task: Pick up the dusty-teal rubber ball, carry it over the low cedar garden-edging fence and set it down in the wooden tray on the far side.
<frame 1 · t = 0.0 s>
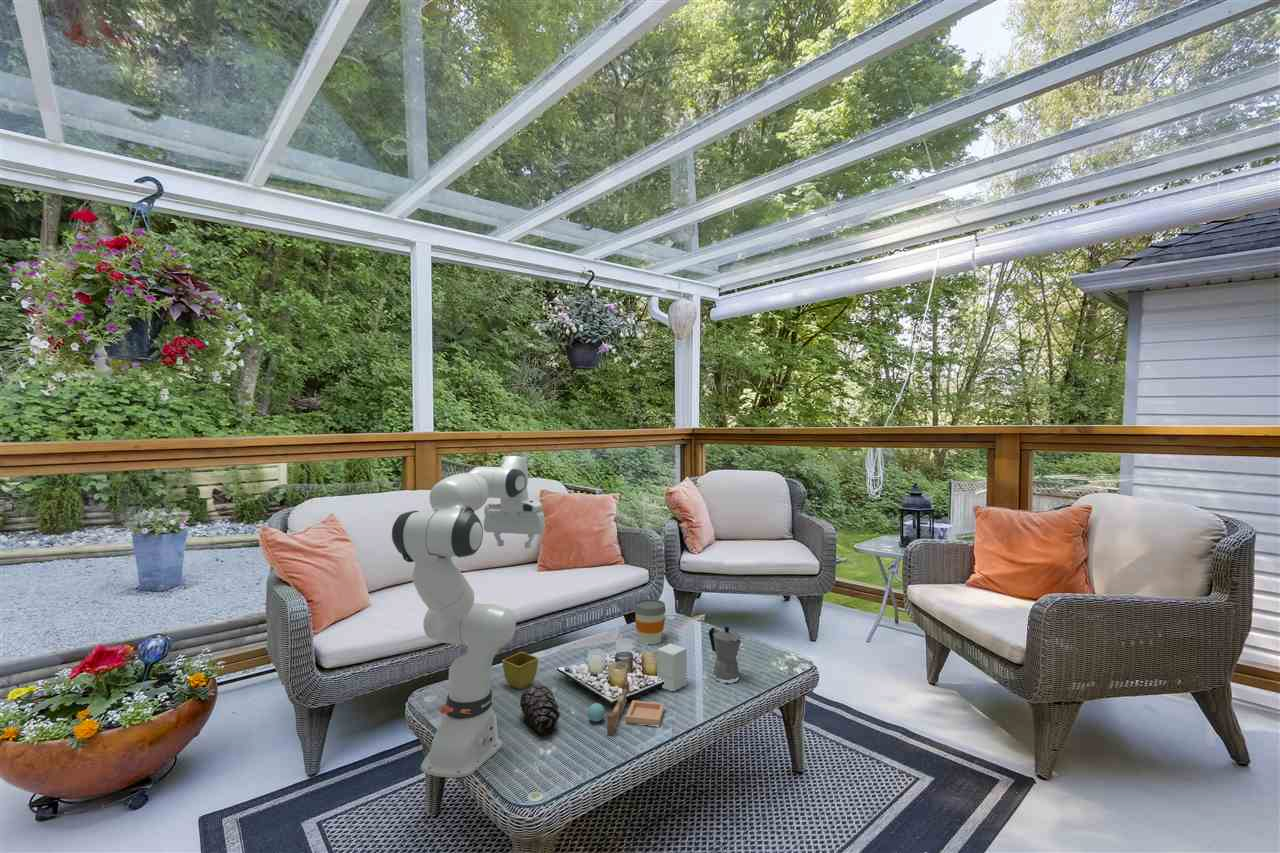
hand: (514, 546, 193), 48 cm above the table, fingers open, 8 cm apart
flower pot: (520, 685, 199), on the table
fence: (618, 715, 179), on the table
pine cone: (542, 725, 174), on the table
supplement box: (671, 686, 199), on the table
ball: (596, 720, 176), on the table
wooden tray: (645, 717, 179), on the table
reusable coffee cup: (649, 641, 238), on the table
coffeepot: (724, 677, 206), on the table
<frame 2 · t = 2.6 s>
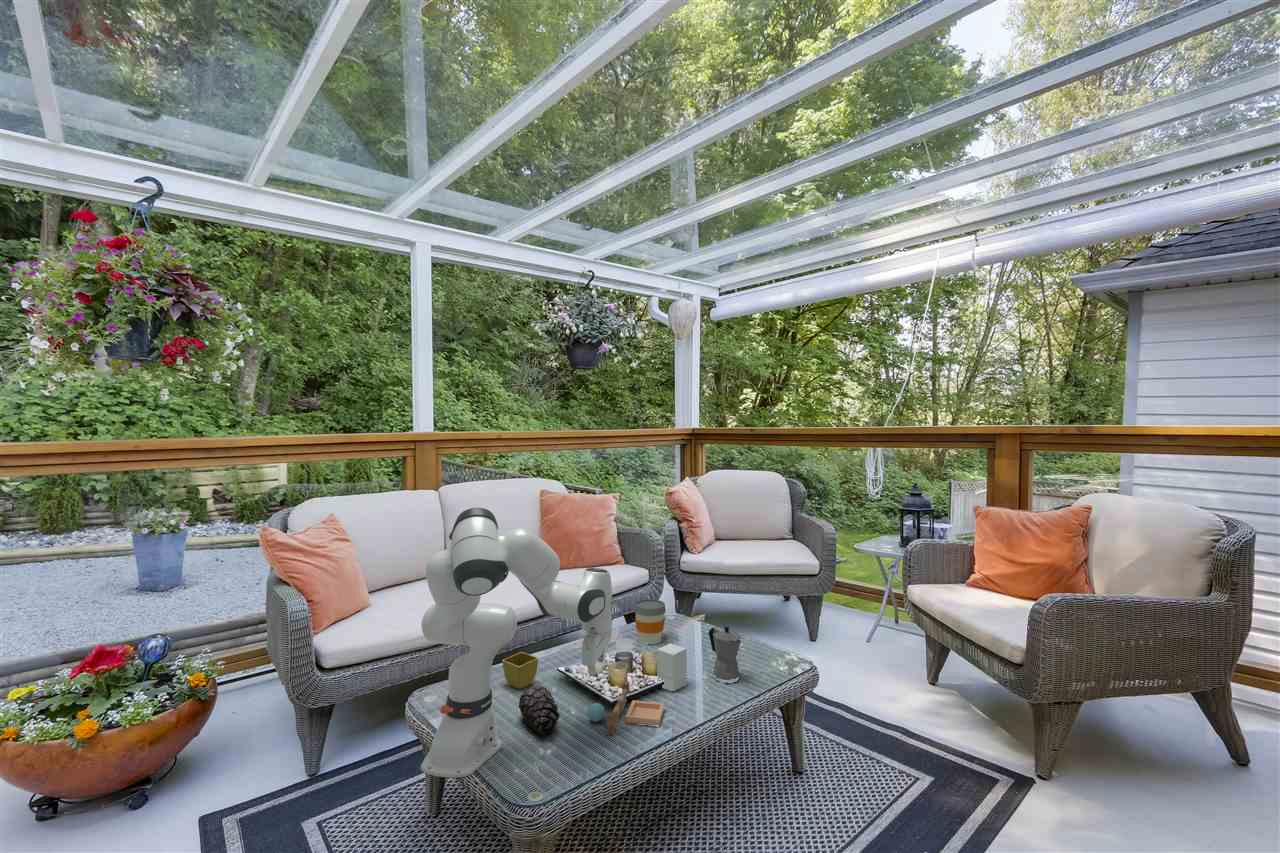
hand: (596, 668, 176), 16 cm above the table, fingers open, 8 cm apart
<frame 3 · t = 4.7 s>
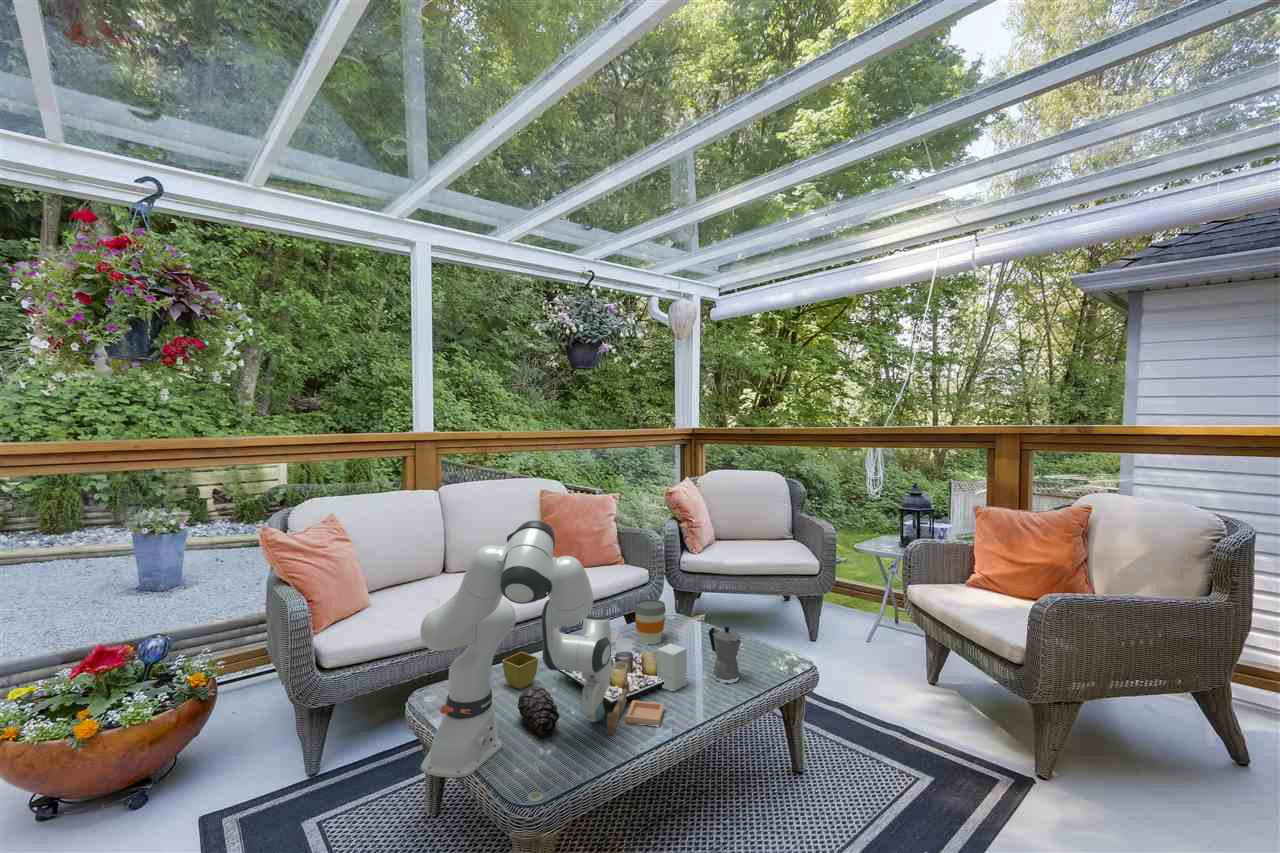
hand: (596, 715, 176), 2 cm above the table, fingers closed on ball, 5 cm apart
ball: (596, 720, 176), on the table, touching gripper
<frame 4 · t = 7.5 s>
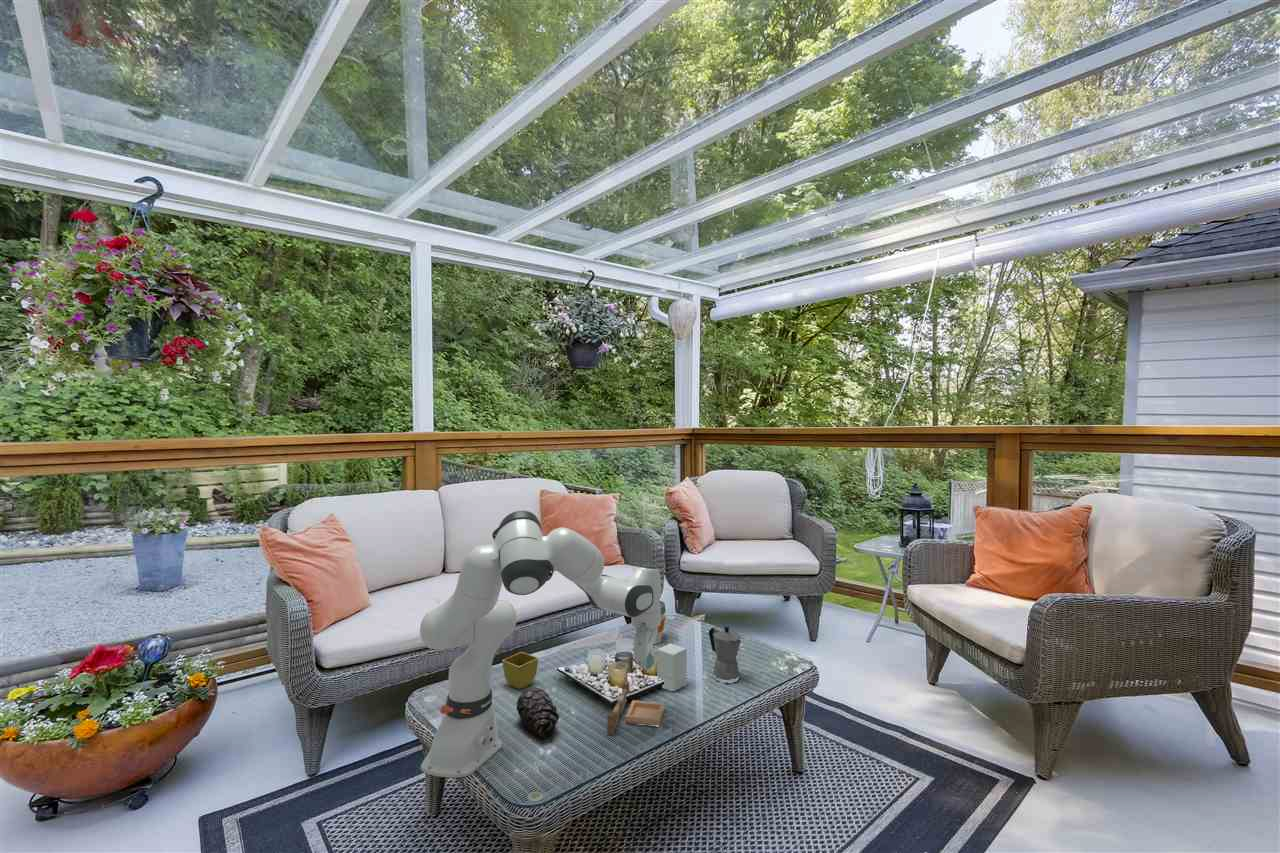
hand: (645, 663, 178), 16 cm above the table, fingers closed on ball, 5 cm apart
ball: (645, 668, 178), point 15 cm above the table, touching gripper
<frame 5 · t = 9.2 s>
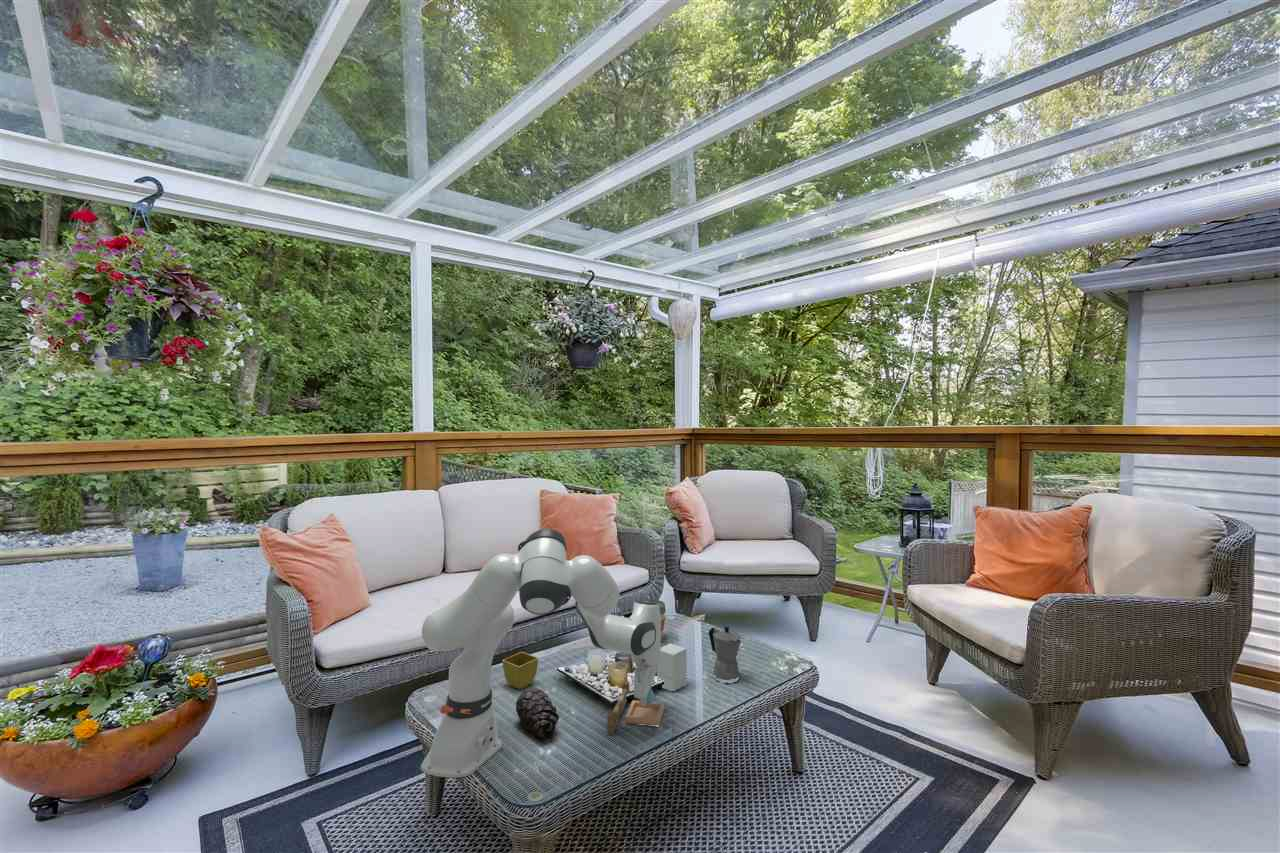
hand: (645, 699, 178), 6 cm above the table, fingers closed on ball, 5 cm apart
ball: (646, 704, 178), point 4 cm above the table, touching gripper
when the fingers open (4 cm above the table, at t = 10.4 s): ball drops 2 cm, resting on wooden tray.
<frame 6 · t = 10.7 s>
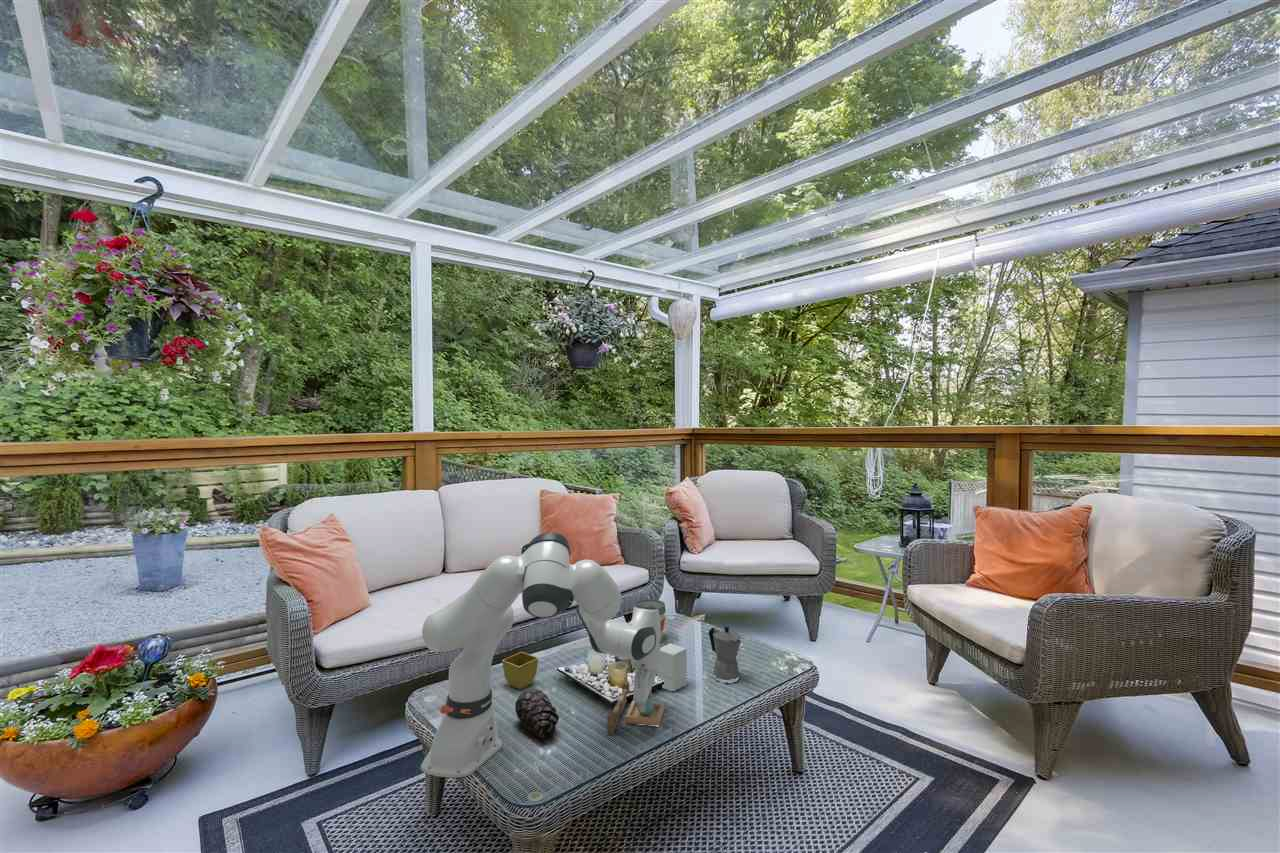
hand: (645, 703, 178), 4 cm above the table, fingers open, 7 cm apart
ball: (645, 714, 178), point 1 cm above the table, touching wooden tray
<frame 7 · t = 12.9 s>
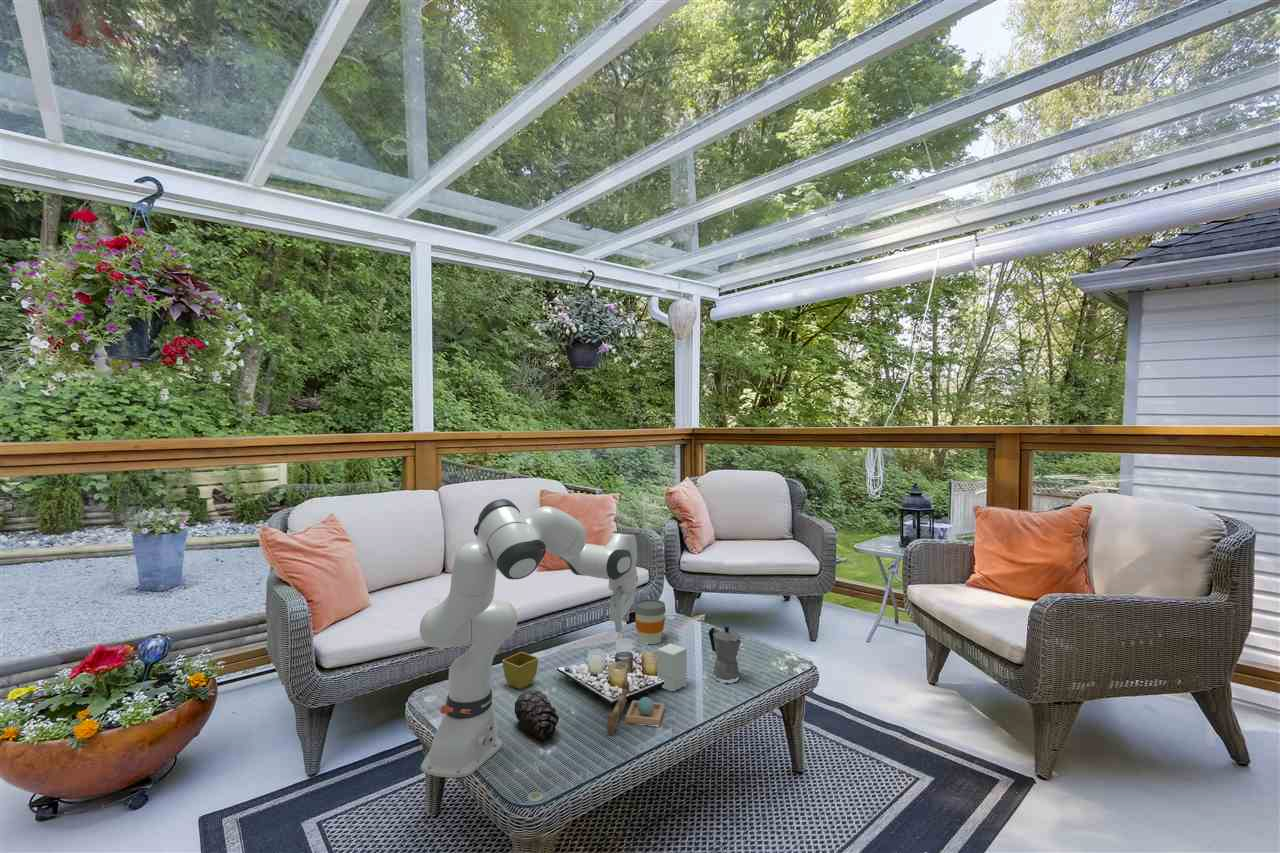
hand: (622, 626, 186), 25 cm above the table, fingers open, 8 cm apart
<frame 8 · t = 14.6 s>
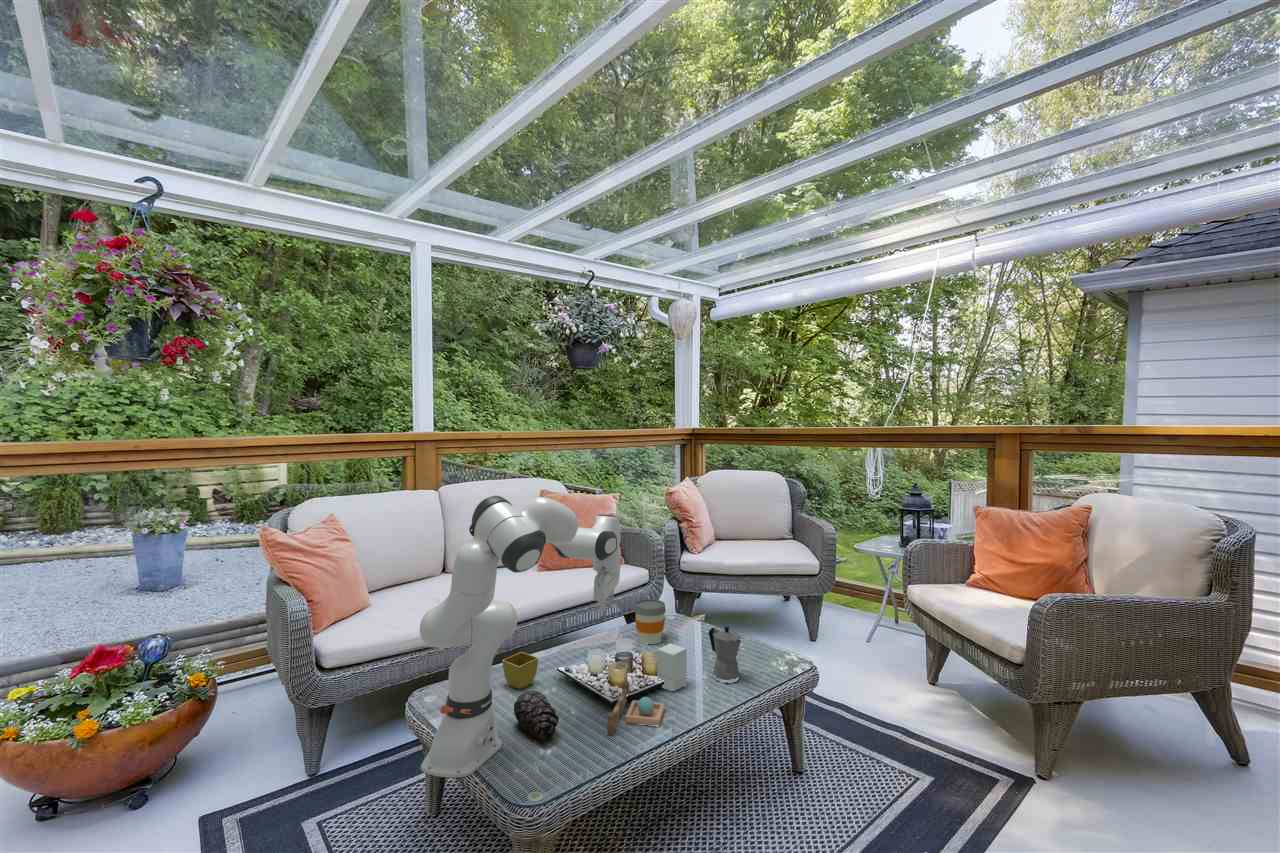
hand: (606, 606, 192), 29 cm above the table, fingers open, 8 cm apart
at the end: ball inside the target area on the wooden tray (0.0 cm from its centre), point 0.8 cm above the wooden tray's base; the gripper is holding nothing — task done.
